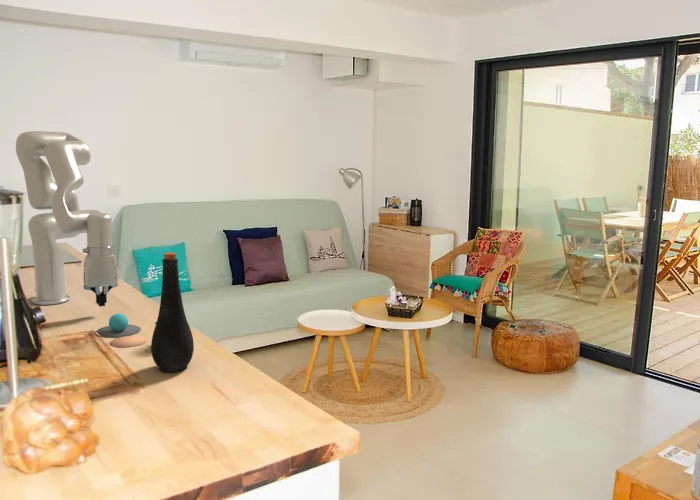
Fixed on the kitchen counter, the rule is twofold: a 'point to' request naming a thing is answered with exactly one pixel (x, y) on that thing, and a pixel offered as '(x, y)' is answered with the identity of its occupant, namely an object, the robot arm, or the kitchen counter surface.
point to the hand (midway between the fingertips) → (101, 305)
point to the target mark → (110, 333)
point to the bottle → (171, 323)
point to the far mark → (128, 341)
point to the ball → (118, 322)
